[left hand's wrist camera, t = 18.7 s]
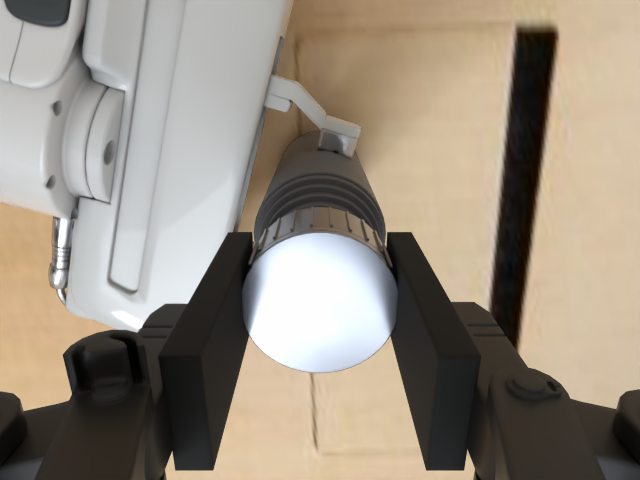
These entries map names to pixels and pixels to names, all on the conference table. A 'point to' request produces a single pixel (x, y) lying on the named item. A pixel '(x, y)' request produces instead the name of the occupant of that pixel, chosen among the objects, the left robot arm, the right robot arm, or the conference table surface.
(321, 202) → the bottle
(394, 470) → the conference table surface
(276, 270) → the cap
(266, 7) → the right robot arm
